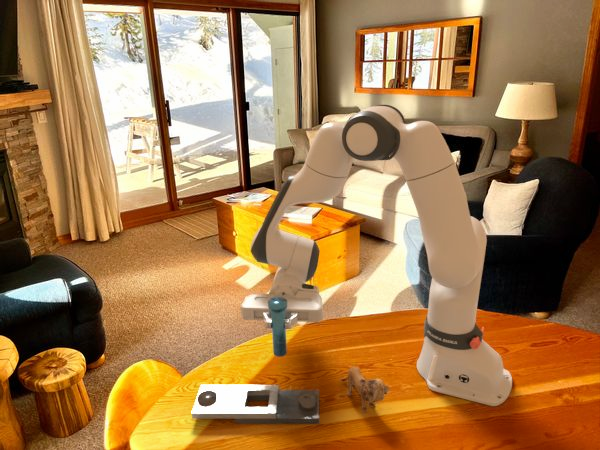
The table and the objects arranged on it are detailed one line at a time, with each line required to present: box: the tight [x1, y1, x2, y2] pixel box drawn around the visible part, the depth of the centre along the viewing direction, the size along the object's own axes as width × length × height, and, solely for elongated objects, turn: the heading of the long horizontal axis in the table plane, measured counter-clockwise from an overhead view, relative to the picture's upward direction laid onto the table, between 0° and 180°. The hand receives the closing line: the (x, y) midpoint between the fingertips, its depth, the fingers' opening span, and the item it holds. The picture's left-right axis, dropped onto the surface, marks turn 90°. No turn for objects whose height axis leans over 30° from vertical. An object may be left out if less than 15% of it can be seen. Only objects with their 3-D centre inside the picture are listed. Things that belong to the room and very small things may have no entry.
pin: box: [268, 297, 288, 358], centre depth 108 cm, size 4×4×14 cm
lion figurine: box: [341, 366, 390, 414], centre depth 106 cm, size 15×5×9 cm, turn 34°
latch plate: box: [191, 384, 320, 425], centre depth 105 cm, size 28×9×4 cm, turn 88°
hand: (278, 326), depth 107 cm, fingers closed on pin, 3 cm apart
